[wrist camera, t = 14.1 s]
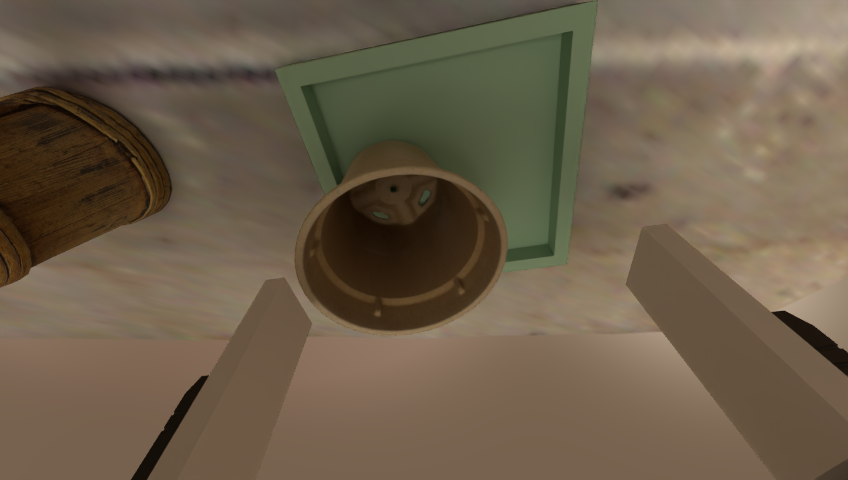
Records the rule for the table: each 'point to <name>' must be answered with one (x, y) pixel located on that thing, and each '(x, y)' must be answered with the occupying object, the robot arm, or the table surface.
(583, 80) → the green tray
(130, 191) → the wooden mug
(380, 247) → the flower pot
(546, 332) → the table surface
